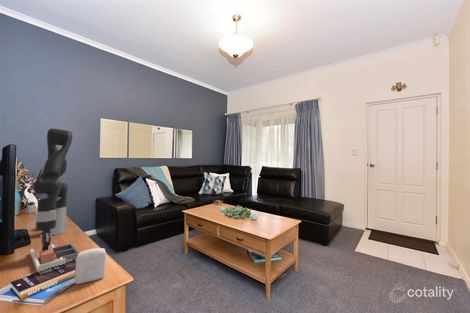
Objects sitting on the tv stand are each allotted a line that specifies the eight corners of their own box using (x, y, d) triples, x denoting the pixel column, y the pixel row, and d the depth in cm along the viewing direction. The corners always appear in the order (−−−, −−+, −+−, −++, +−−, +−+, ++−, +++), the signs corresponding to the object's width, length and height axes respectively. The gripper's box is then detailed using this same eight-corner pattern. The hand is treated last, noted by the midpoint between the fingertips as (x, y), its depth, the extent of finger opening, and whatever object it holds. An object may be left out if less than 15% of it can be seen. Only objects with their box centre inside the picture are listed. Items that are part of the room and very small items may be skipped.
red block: (39, 260, 101) (39, 251, 101) (51, 257, 104) (51, 249, 104) (41, 264, 97) (41, 255, 97) (53, 260, 100) (54, 252, 100)
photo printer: (105, 273, 90) (106, 245, 90) (105, 278, 86) (106, 248, 87) (75, 280, 84) (76, 250, 84) (74, 286, 80) (75, 254, 81)
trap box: (30, 254, 107) (30, 246, 107) (69, 245, 119) (69, 238, 119) (38, 275, 87) (38, 266, 87) (83, 262, 99) (84, 253, 99)
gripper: (58, 220, 103) (57, 255, 102) (53, 215, 112) (52, 247, 111) (37, 223, 97) (36, 260, 97) (34, 218, 106) (33, 252, 105)
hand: (44, 253), depth 104 cm, fingers closed
